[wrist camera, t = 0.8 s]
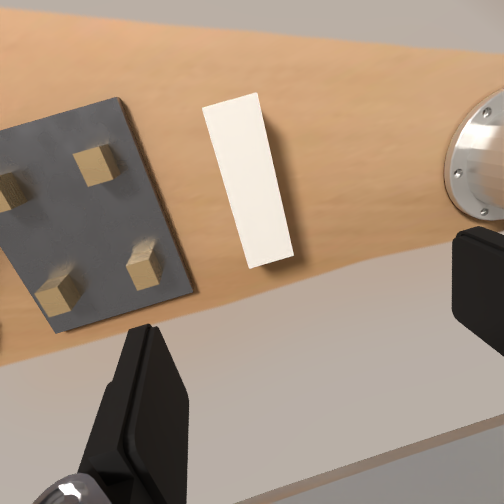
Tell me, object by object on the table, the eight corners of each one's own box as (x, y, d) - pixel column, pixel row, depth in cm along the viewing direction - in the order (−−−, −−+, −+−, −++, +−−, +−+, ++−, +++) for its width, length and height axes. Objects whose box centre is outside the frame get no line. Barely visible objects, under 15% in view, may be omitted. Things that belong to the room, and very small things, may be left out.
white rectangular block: (248, 96, 28) (256, 92, 23) (281, 236, 33) (294, 255, 28) (202, 109, 28) (201, 107, 23) (242, 247, 33) (249, 268, 28)
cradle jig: (119, 97, 26) (107, 94, 23) (193, 287, 33) (192, 305, 30) (-53, 147, 26) (-89, 151, 23) (59, 327, 33) (44, 350, 30)
